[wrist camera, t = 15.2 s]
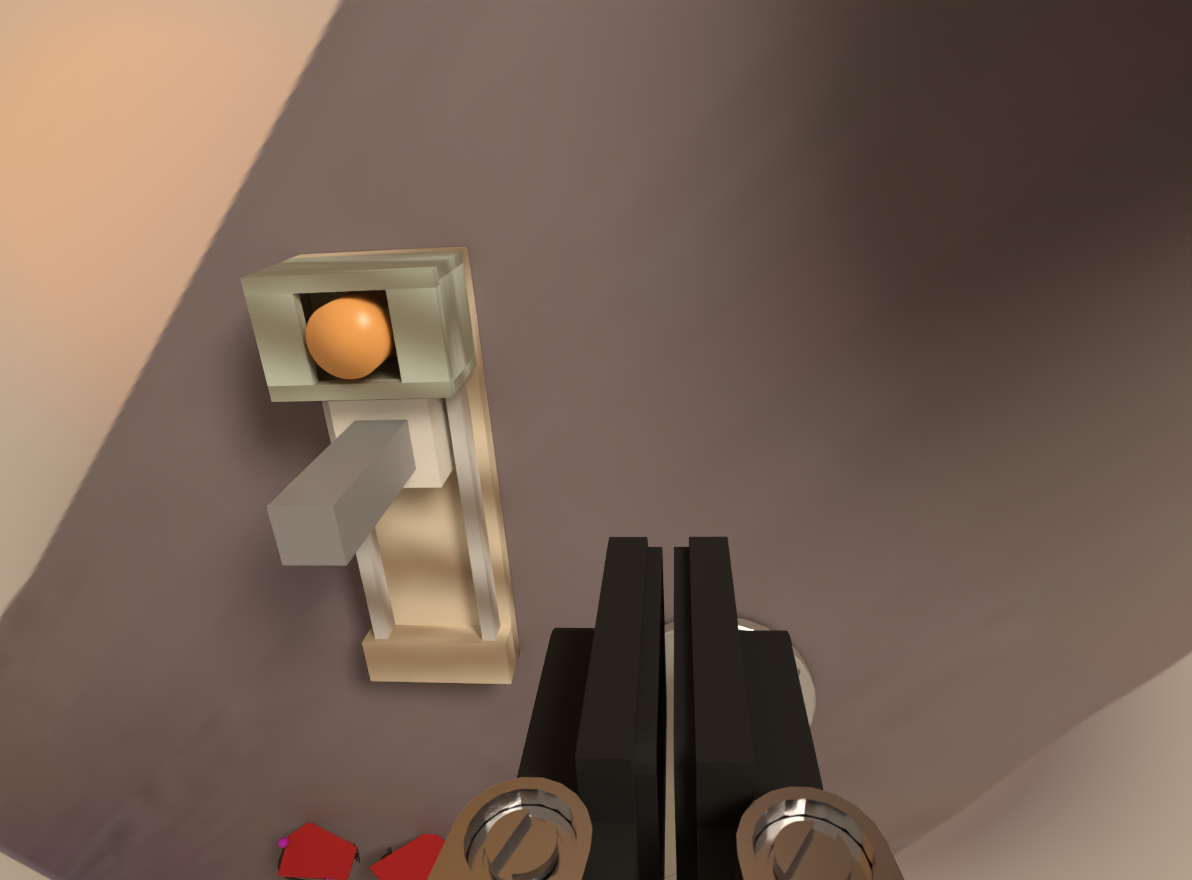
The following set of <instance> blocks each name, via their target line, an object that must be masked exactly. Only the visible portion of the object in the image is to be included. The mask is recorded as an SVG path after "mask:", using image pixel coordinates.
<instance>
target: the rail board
mask: <svg viewBox="0 0 1192 880" xmlns="http://www.w3.org/2000/svg"><path fill="white" fill-rule="evenodd" d="M240 279H241V283H242V287H243V291H244V295H245V299H246V303H247V307H248V311H249V314H250V318H251V322H252V326H253V330H254V334H255V338H256V342H257V346H258V350H259V354H260V358H261V362H262V365H263V369H264V373H265V377H266V381H267V385H268V389H269V393H270V397H271V401H272V402H288V401H322V405H323V410H324V414H325V419H326V423H327V428H328V432H329V436H330V441H331V443H332V442H333V441H334V440H335V439H336V435H335V431H334V426H333V422H332V417H331V413H330V408H329V404H328V401H330V400H371V399H413V398H444V399H445V405H446V412H447V418H448V425H449V431H450V438H451V444H452V451H453V457H454V464H455V466H454V468H453V470H452V471H451V473H450V475H449V476H448V478H447V479H446V481H445V483H444V484H443V486H442V487H441V488H402V489H401V491H400V492H399V494H398V495H397V496H396V498H395V499H394V501H393V502H392V503H391V505H390V506H389V508H388V509H387V510H386V512H385V513H384V514H383V516H382V517H381V519H380V520H379V521H378V523H377V524H376V526H375V527H374V528H373V530H372V531H371V533H370V534H369V535H368V537H367V538H366V539H365V541H364V542H363V544H362V545H361V546H360V548H359V549H358V551H357V552H356V556H357V560H358V565H359V569H360V574H361V578H362V583H363V587H364V591H365V596H366V600H367V605H368V609H369V614H370V618H371V622H372V626H371V628H370V630H369V632H368V633H367V635H366V637H365V638H364V640H363V642H362V646H363V650H364V654H365V658H366V663H367V667H368V671H369V675H370V680H371V681H390V682H438V683H485V684H511V681H512V678H513V674H514V671H515V667H516V664H517V661H518V657H519V654H520V647H519V640H518V632H517V624H516V616H515V609H514V601H513V593H512V586H511V578H510V570H509V562H508V555H507V547H506V539H505V531H504V524H503V516H502V508H501V500H500V493H499V485H498V477H497V469H496V462H495V454H494V446H493V438H492V431H491V423H490V415H489V407H488V400H487V392H486V384H485V376H484V369H483V361H482V353H481V345H480V338H479V330H478V322H477V314H476V307H475V299H474V291H473V283H472V276H471V268H470V260H469V253H468V246H463V247H443V248H422V249H401V250H380V251H359V252H339V253H318V254H301V255H298V256H295V257H293V258H290V259H288V260H285V261H283V262H280V263H278V264H275V265H272V266H270V267H267V268H265V269H262V270H260V271H257V272H254V273H252V274H249V275H247V276H244V277H242V278H240ZM366 290H376V291H379V292H381V293H383V294H384V295H386V296H387V300H388V306H389V312H390V317H391V323H392V329H393V334H394V340H395V345H396V351H395V352H394V353H393V354H392V355H391V356H390V357H388V358H387V359H386V360H385V361H384V362H383V363H382V364H380V365H379V366H378V367H377V368H376V369H375V370H373V371H372V372H371V373H370V374H368V375H366V376H364V377H362V378H358V379H343V378H339V377H336V376H334V375H332V374H330V373H328V372H327V371H325V370H324V369H323V368H321V367H320V366H319V365H318V364H317V363H316V361H315V360H314V359H313V357H312V355H311V354H310V351H309V349H308V346H307V342H306V327H307V323H308V321H309V319H310V317H311V316H312V314H313V313H314V312H315V311H316V310H317V309H319V308H320V307H322V306H324V305H326V304H327V303H329V302H331V301H333V300H335V299H336V298H338V297H340V296H342V295H344V294H345V293H347V292H349V291H366Z"/></svg>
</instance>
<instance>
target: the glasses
mask: <svg viewBox="0 0 1192 880" xmlns="http://www.w3.org/2000/svg"><path fill="white" fill-rule="evenodd" d="M444 843H445V841H444V840H443V839H442V838H440V837H439V836H438V835H432V834H423V835H421V836H419V837H418V838H416V839H415V840H413V841H411V842H410V843H408V844H406V845H405V846H403V847H401V848H400V849H398V850H397V851H395V852H393V853H392V851H391V850H392V849H391V847H390V850H389V848H388V852H387V853H386V854H385V855H384V856H383V857H382V859H381V860H380V861H379V862H377V863H375V864H374V865H372V866H370V870H371V871H372V872H373V873H374V874H375V875H376V877H377V878H378V879H379V880H426V879H427V878H428V877H429V875H430V873H431V870H432V868H433V866H434V864H435V862H436V860H437V858H438V856H439V854H440V852H441V850H442V848H443V845H444ZM278 845H279V847H280V848H282V850H283V851H282V853H281V856H280V858H279V861H278V870H279V872H278V876H282V877H285V878H286V879H289V880H304V879H298V878H295V877H300V878H317V879H326V880H329V879H335V880H348V877H349V874H350V871H351V867H352V864H353V861H354V859H356V861H358V860H359V863H360V858H359V852H358V848H357V846H355V843H354V844H351V843H349V842H347V841H346V840H344V839H342V838H340V837H338V836H336V835H334V834H332V833H330V832H328V831H326V830H324V829H322V828H320V827H318V826H316V825H315V824H313V823H307V824H305V825H304V826H302V827H301V828H299V829H298V830H296V831H295V832H294V833H292V834H291V835H289V836H288V839H287V838H286V837H283V838H281V839H280V840H279V842H278ZM356 850H357V853H356ZM357 857H358V859H357Z"/></svg>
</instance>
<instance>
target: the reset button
mask: <svg viewBox="0 0 1192 880" xmlns="http://www.w3.org/2000/svg"><path fill="white" fill-rule="evenodd" d="M306 342H307V346H308V349H309V351H310V354H311V355H312V357H313V359H314V360H315V361H316V363H317V364H318V365H319V366H320V367H321V368H323V369H324V370H325V371H327V372H328V373H330V374H332V375H334V376H336V377H339V378H343V379H358V378H362V377H364V376H366V375H368V374H370V373H371V372H372V371H373V370H375V369H376V368H377V367H378V366H379V365H380V364H382V363H383V362H384V361H385V360H386V359H387V358H388V357H390V356H391V355H392V354H393V353H394V352H395V351H396V345H395V340H394V334H393V329H392V323H391V317H390V312H389V306H388V300H387V296H386V295H384V294H383V293H381V292H379V291H376V290H366V291H349V292H347V293H345V294H344V295H342V296H340V297H338V298H336V299H335V300H333V301H331V302H329V303H327V304H326V305H324V306H322V307H320V308H319V309H317V310H316V311H315V312H314V313H313V314H312V316H311V317H310V319H309V321H308V323H307V327H306Z"/></svg>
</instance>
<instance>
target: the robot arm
mask: <svg viewBox="0 0 1192 880" xmlns="http://www.w3.org/2000/svg"><path fill="white" fill-rule="evenodd" d="M815 708H816V699H815V689H814V685H813V681H812V677H811V674H810V671H809V669H808V667H807V665H806V663H805V661H804V659H803V658H802V657H801V655H800V654H799V653H798V651H797V650H796V649H795V647H793V646H792V643H791V639H790V636H789V633H788V632H787V631H772V630H770V629H769V628H767V627H765V626H762V625H760V624H757V623H754V622H752V621H749V620H745V619H740V618H737V612H736V603H735V595H734V587H733V579H732V570H731V562H730V554H729V546H728V538H727V537H689V547H674V622H670V623H668V624H666V625H665V621H664V588H663V556H662V547H648V540H647V537H610V538H609V541H608V548H607V554H606V560H605V567H604V573H603V580H602V586H601V593H600V599H599V606H598V612H597V618H596V625H595V628H554V630H553V631H552V634H551V637H550V641H549V645H548V649H547V653H546V657H545V662H544V666H543V670H542V674H541V679H540V683H539V687H538V691H537V695H536V700H535V704H534V708H533V712H532V716H531V721H530V725H529V729H528V733H527V738H526V742H525V746H524V750H523V754H522V759H521V763H520V767H519V771H518V776H517V778H516V779H512V780H507V781H503V782H500V783H498V784H496V785H494V786H492V787H490V788H488V789H486V790H484V791H482V792H481V793H480V794H479V795H478V796H477V797H475V798H474V799H473V800H472V801H471V802H470V803H468V804H467V805H466V806H465V808H464V809H463V811H462V812H461V814H460V815H459V817H458V818H457V820H456V821H455V823H454V825H453V827H452V829H451V831H450V833H449V835H448V837H447V839H446V841H445V843H444V845H443V848H442V850H441V852H440V854H439V856H438V858H437V860H436V862H435V864H434V866H433V868H432V870H431V873H430V875H429V877H428V878H427V879H426V880H904V877H903V875H902V873H901V871H900V869H899V867H898V864H897V862H896V860H895V858H894V856H893V853H892V851H891V849H890V847H889V845H888V842H887V841H886V839H885V838H884V836H883V835H882V833H881V832H880V830H879V828H878V827H877V825H876V824H875V822H874V821H873V820H872V819H870V818H869V817H868V816H867V815H866V814H865V813H864V812H863V811H862V810H861V809H860V808H858V807H857V806H856V805H854V804H852V803H851V802H849V801H847V800H845V799H844V798H842V797H840V796H838V795H836V794H834V793H830V792H827V791H824V790H823V786H822V781H821V777H820V772H819V768H818V763H817V758H816V754H815V749H814V745H813V740H812V735H811V731H810V726H811V724H812V722H813V718H814V713H815Z"/></svg>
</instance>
